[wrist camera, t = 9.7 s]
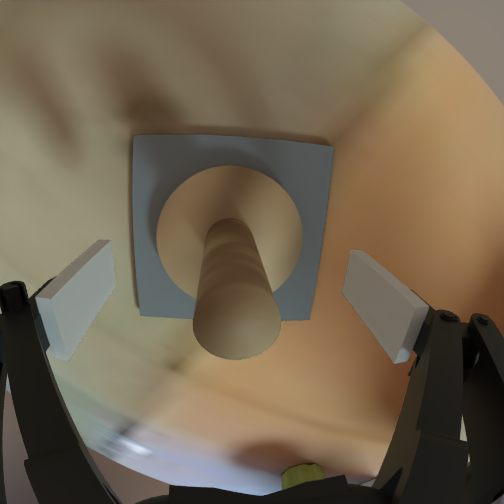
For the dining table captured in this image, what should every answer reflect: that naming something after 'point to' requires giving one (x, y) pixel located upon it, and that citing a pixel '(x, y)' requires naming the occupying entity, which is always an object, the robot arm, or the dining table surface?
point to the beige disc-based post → (231, 255)
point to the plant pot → (301, 475)
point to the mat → (222, 154)
